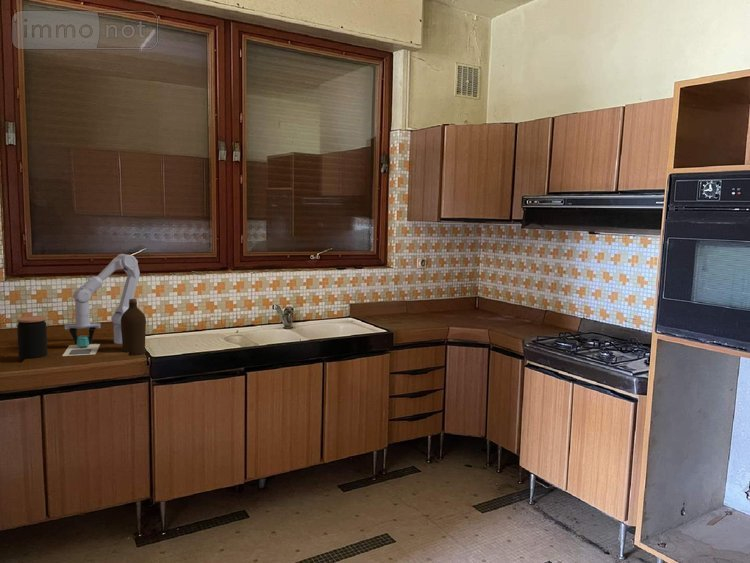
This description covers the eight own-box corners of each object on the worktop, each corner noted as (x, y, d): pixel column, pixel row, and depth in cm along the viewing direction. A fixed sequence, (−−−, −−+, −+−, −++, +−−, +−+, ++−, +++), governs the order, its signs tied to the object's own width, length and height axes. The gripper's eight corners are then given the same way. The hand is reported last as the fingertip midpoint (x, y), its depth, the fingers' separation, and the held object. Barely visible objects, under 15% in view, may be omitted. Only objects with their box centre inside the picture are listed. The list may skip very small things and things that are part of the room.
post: (87, 346, 261) (87, 337, 260) (86, 347, 258) (86, 339, 257) (80, 346, 259) (79, 338, 259) (79, 348, 257) (79, 339, 256)
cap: (90, 343, 262) (90, 335, 261) (89, 346, 257) (88, 337, 257) (77, 344, 260) (77, 335, 260) (76, 346, 255) (76, 338, 255)
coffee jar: (51, 356, 247) (50, 315, 245) (41, 362, 237) (40, 320, 235) (25, 356, 246) (23, 315, 244) (14, 362, 235) (12, 320, 233)
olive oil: (133, 356, 250) (132, 301, 247) (116, 354, 254) (114, 299, 251) (151, 352, 259) (150, 298, 256) (134, 349, 263) (133, 296, 261)
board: (100, 346, 266) (100, 343, 266) (95, 357, 247) (95, 354, 247) (69, 348, 262) (69, 345, 261) (62, 359, 242) (62, 356, 242)
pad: (91, 349, 255) (91, 348, 254) (89, 353, 247) (89, 352, 247) (71, 350, 252) (71, 349, 252) (69, 354, 244) (69, 353, 244)
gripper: (100, 313, 263) (101, 341, 265) (65, 314, 258) (66, 342, 260) (99, 315, 257) (100, 344, 258) (63, 316, 252) (64, 346, 253)
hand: (83, 344), depth 258 cm, fingers closed on cap, 5 cm apart
